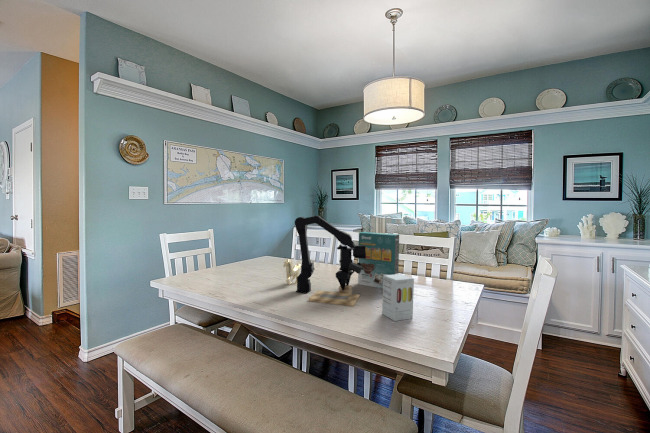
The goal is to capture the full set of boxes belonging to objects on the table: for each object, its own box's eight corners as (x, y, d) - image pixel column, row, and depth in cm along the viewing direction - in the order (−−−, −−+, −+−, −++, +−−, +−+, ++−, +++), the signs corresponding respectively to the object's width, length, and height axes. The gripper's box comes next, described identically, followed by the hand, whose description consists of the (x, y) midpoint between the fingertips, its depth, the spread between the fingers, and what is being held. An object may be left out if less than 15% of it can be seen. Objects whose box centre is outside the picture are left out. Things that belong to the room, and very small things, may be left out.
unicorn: (298, 279, 187) (298, 251, 186) (303, 280, 185) (304, 252, 185) (280, 288, 169) (280, 257, 168) (286, 289, 167) (286, 257, 166)
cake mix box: (398, 287, 172) (399, 234, 171) (394, 290, 167) (395, 235, 166) (362, 281, 184) (363, 231, 183) (358, 284, 179) (358, 232, 178)
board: (308, 301, 148) (308, 298, 148) (317, 292, 161) (317, 290, 161) (353, 306, 141) (353, 303, 141) (359, 297, 155) (359, 294, 155)
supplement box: (394, 321, 123) (395, 280, 123) (381, 313, 132) (382, 275, 131) (413, 318, 127) (414, 278, 126) (399, 310, 136) (400, 273, 135)
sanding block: (339, 294, 160) (339, 286, 160) (341, 292, 164) (341, 284, 163) (350, 295, 158) (350, 287, 158) (352, 293, 162) (352, 285, 162)
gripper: (357, 262, 149) (357, 294, 149) (364, 255, 166) (364, 284, 167) (335, 260, 152) (335, 292, 153) (344, 254, 170) (344, 282, 170)
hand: (345, 287), depth 161 cm, fingers open, 9 cm apart
